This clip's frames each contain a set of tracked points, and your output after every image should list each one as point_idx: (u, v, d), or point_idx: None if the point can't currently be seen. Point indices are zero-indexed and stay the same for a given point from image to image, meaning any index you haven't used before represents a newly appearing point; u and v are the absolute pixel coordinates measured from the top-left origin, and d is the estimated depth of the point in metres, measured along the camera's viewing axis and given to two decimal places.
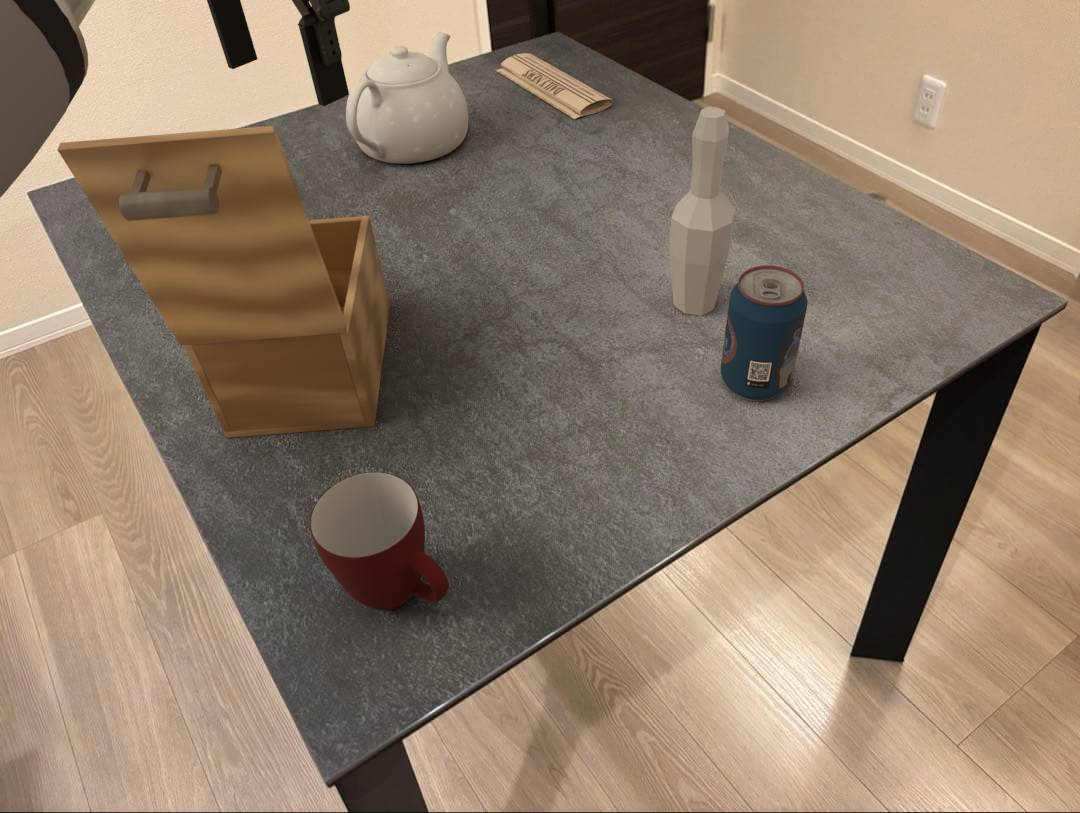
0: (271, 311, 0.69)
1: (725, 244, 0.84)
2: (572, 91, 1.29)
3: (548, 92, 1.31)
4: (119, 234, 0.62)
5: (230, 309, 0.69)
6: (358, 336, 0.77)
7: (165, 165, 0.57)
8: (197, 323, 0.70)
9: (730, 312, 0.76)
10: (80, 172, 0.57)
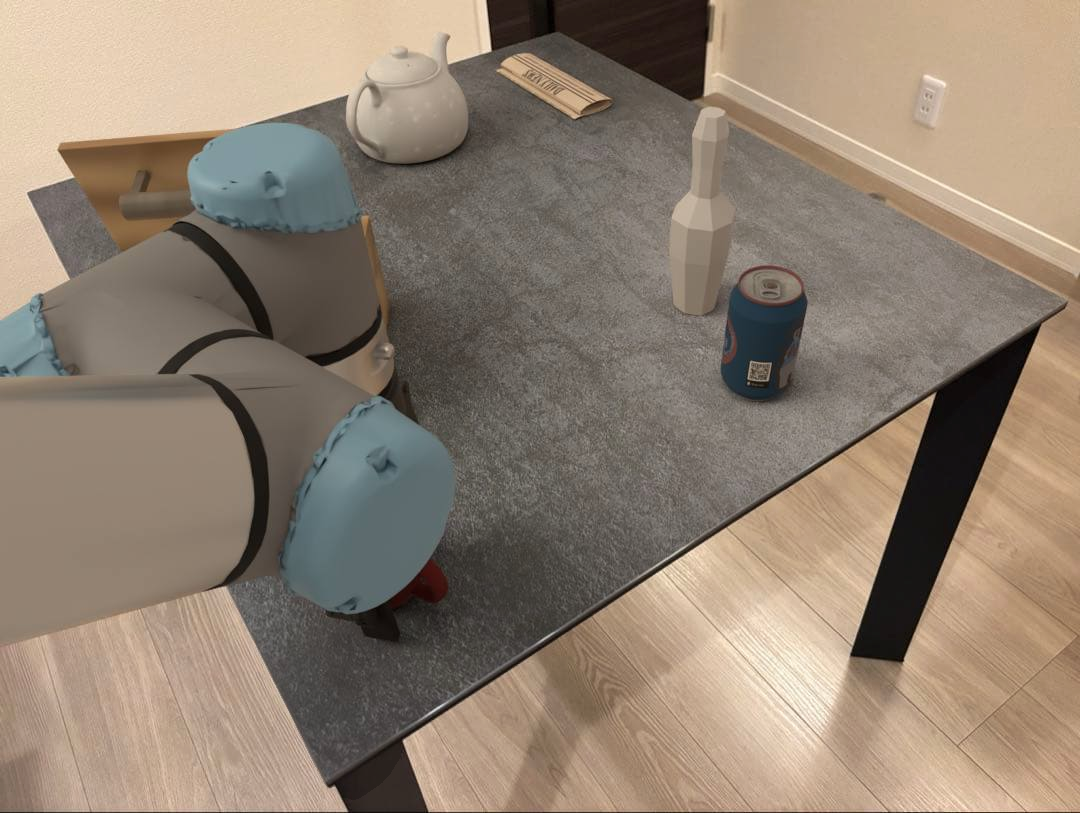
0: None
1: (725, 244, 0.84)
2: (572, 91, 1.29)
3: (548, 92, 1.31)
4: (119, 234, 0.62)
5: None
6: None
7: (165, 165, 0.57)
8: None
9: (730, 312, 0.76)
10: (80, 172, 0.57)
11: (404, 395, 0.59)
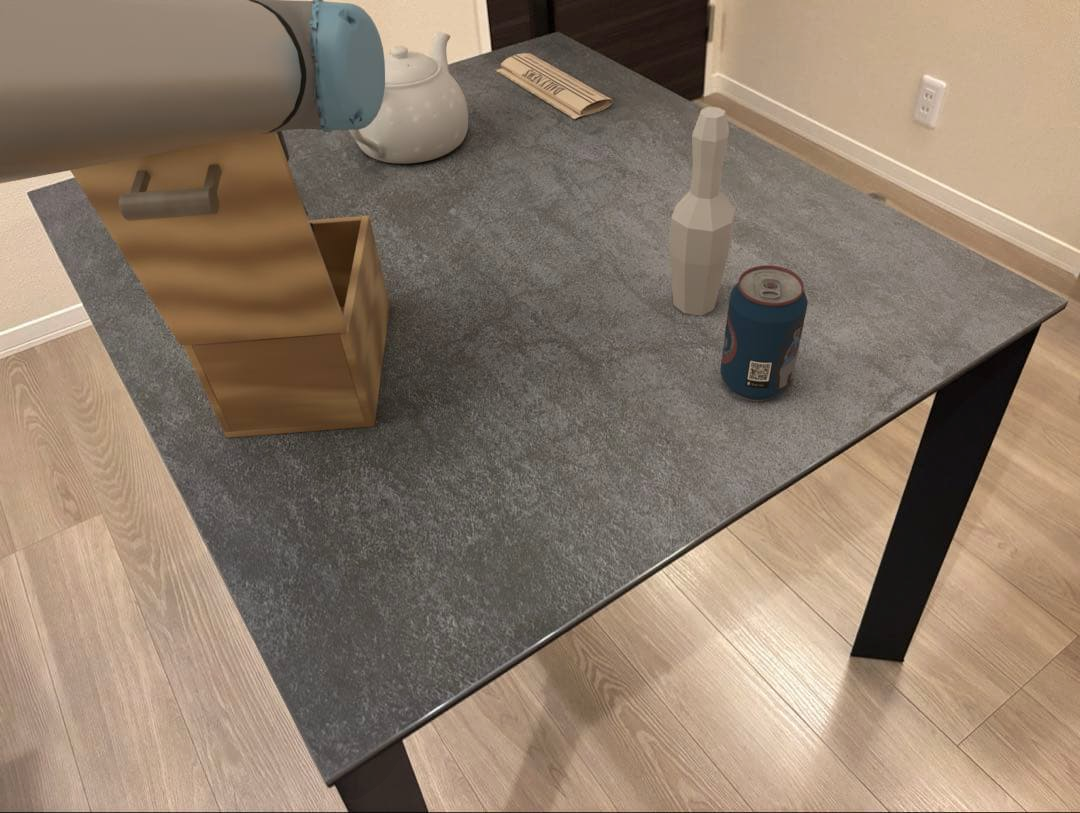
0: (271, 311, 0.69)
1: (725, 244, 0.84)
2: (572, 91, 1.29)
3: (548, 92, 1.31)
4: (119, 234, 0.62)
5: (230, 309, 0.69)
6: (358, 336, 0.77)
7: (165, 165, 0.57)
8: (197, 323, 0.70)
9: (730, 312, 0.76)
10: (80, 172, 0.57)
11: None
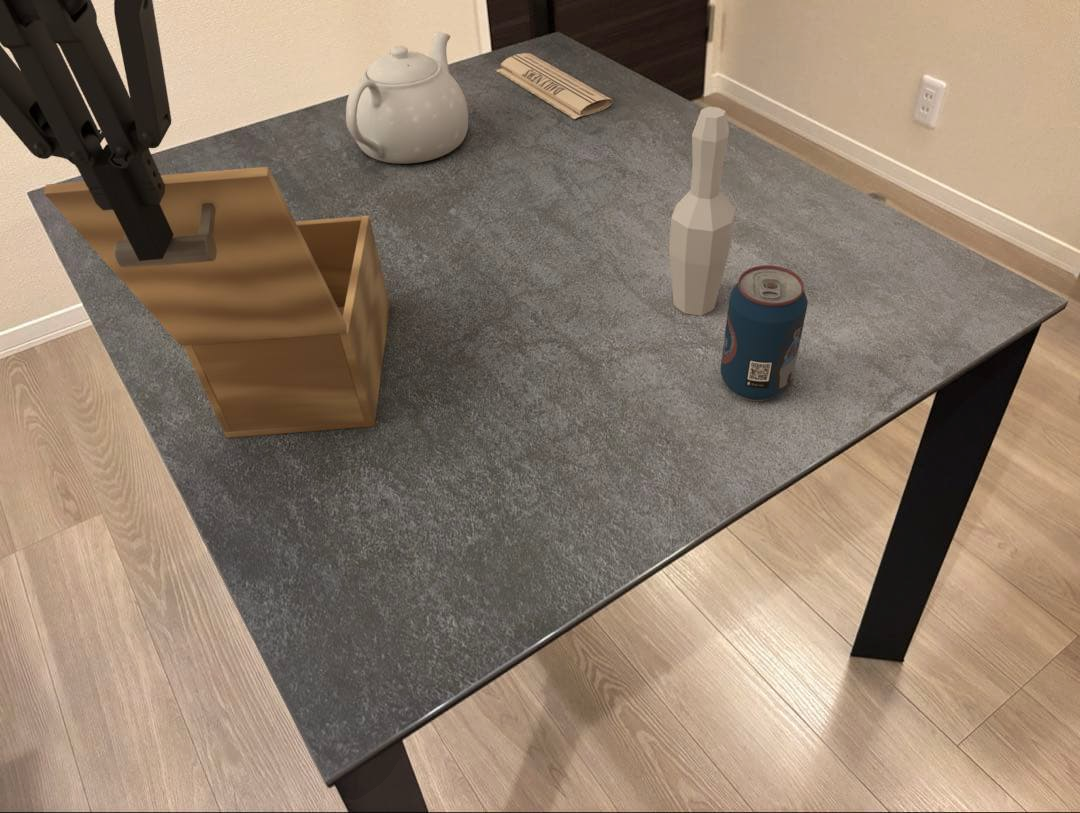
0: (271, 318, 0.69)
1: (725, 244, 0.84)
2: (572, 91, 1.29)
3: (548, 92, 1.31)
4: (113, 260, 0.61)
5: (230, 317, 0.69)
6: (358, 336, 0.77)
7: None
8: (196, 328, 0.70)
9: (730, 312, 0.76)
10: (70, 212, 0.55)
11: None
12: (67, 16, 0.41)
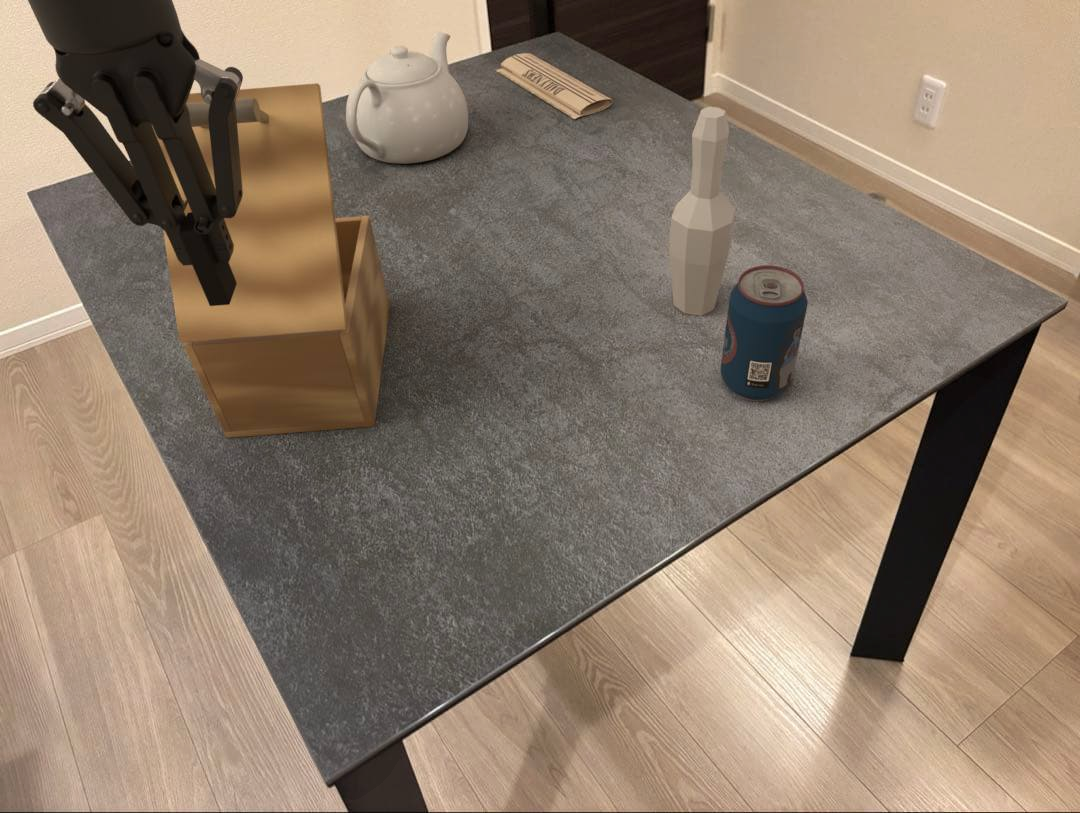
0: (278, 295, 0.72)
1: (725, 244, 0.84)
2: (572, 91, 1.29)
3: (548, 92, 1.31)
4: None
5: (240, 291, 0.71)
6: (358, 336, 0.77)
7: None
8: (204, 309, 0.72)
9: (730, 312, 0.76)
10: None
11: None
12: (171, 120, 0.52)
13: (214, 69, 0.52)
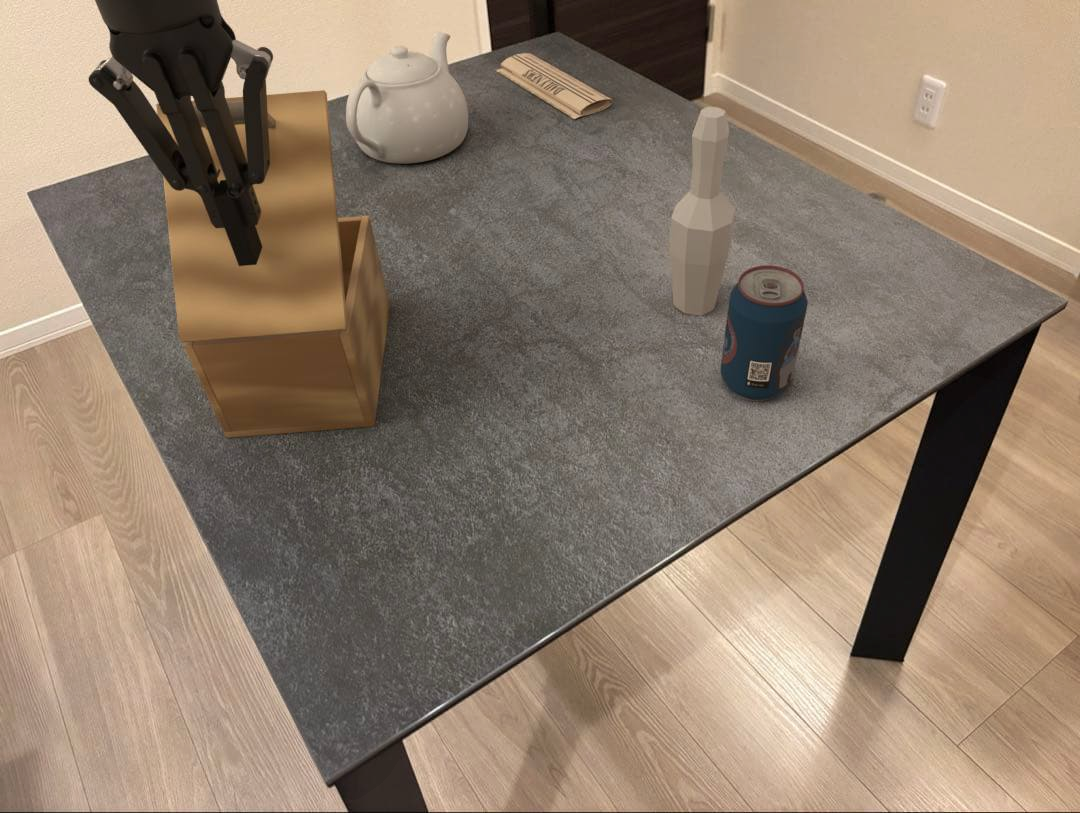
0: (279, 295, 0.72)
1: (725, 244, 0.84)
2: (572, 91, 1.29)
3: (548, 92, 1.31)
4: (172, 192, 0.72)
5: (241, 290, 0.72)
6: (358, 336, 0.77)
7: None
8: (205, 309, 0.72)
9: (730, 312, 0.76)
10: (165, 126, 0.71)
11: None
12: (210, 93, 0.59)
13: (249, 48, 0.59)
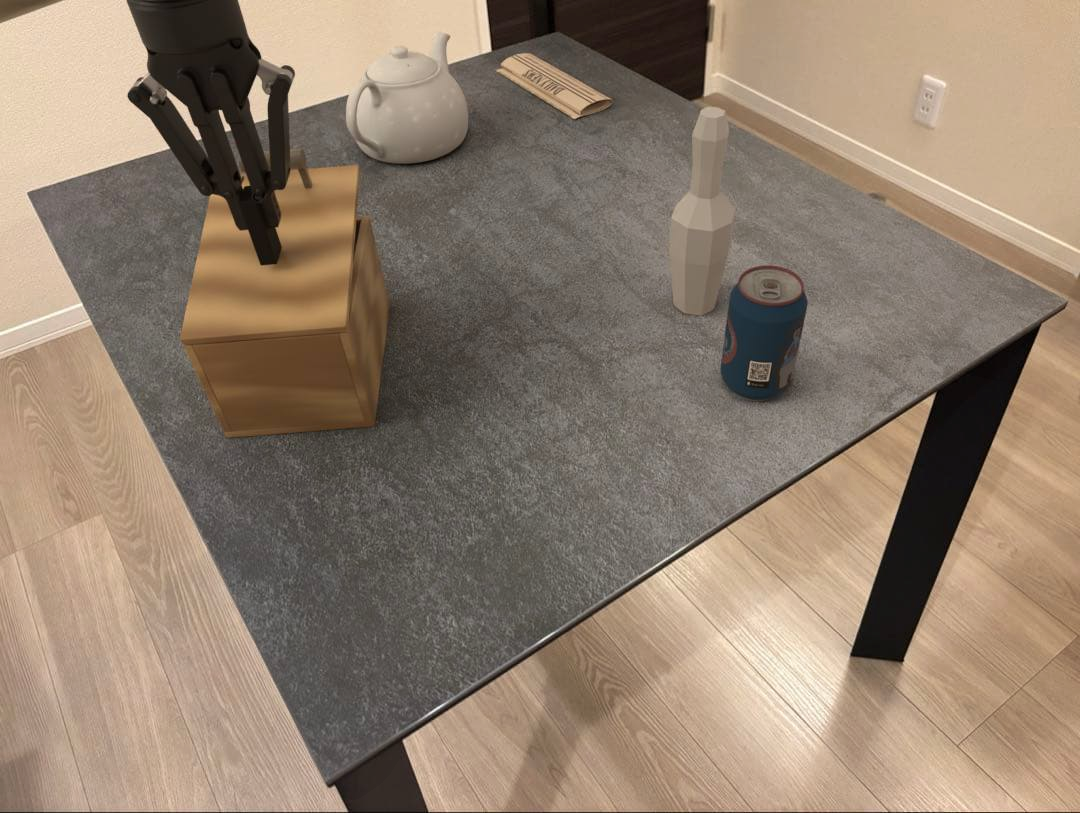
0: (286, 301, 0.74)
1: (725, 244, 0.84)
2: (572, 91, 1.29)
3: (548, 92, 1.31)
4: (209, 231, 0.79)
5: (251, 298, 0.74)
6: (358, 336, 0.77)
7: None
8: (212, 313, 0.74)
9: (730, 312, 0.76)
10: None
11: None
12: (238, 108, 0.65)
13: (273, 67, 0.64)
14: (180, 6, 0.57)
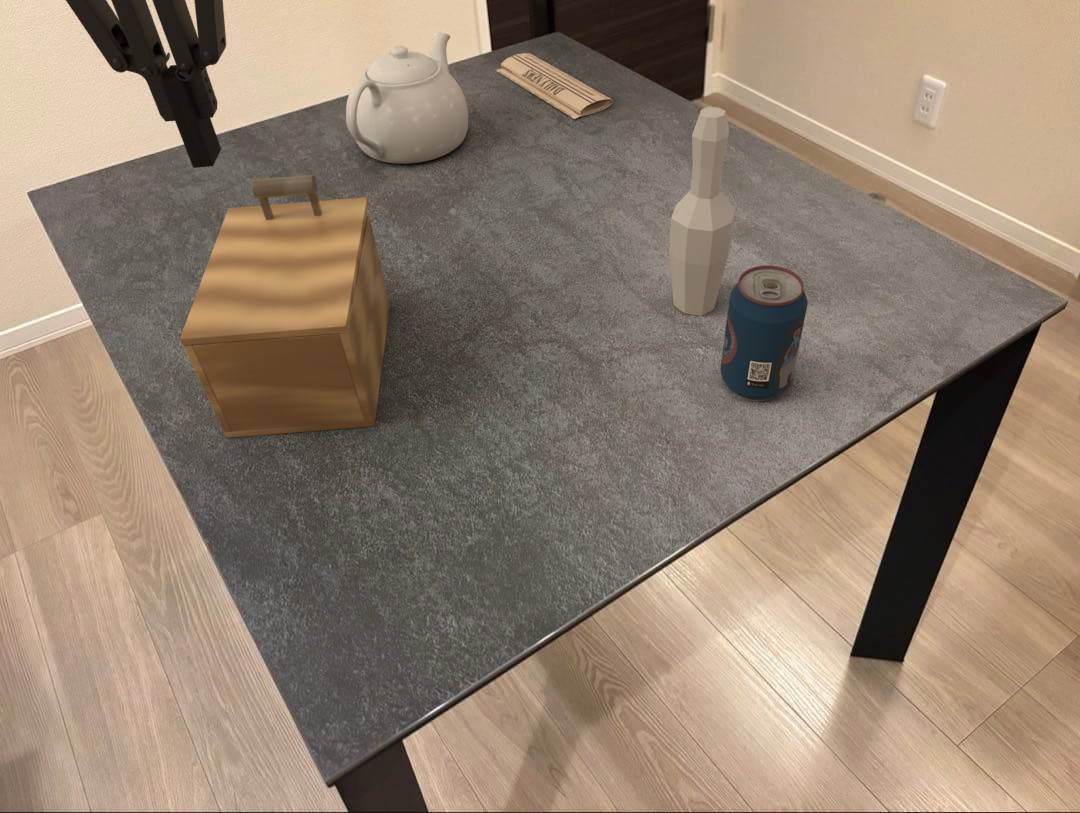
0: (288, 306, 0.74)
1: (725, 244, 0.84)
2: (572, 91, 1.29)
3: (548, 92, 1.31)
4: (218, 250, 0.81)
5: (254, 304, 0.75)
6: (358, 336, 0.77)
7: (287, 213, 0.85)
8: (215, 316, 0.74)
9: (730, 312, 0.76)
10: (230, 218, 0.85)
11: None
12: None
13: None
14: None
